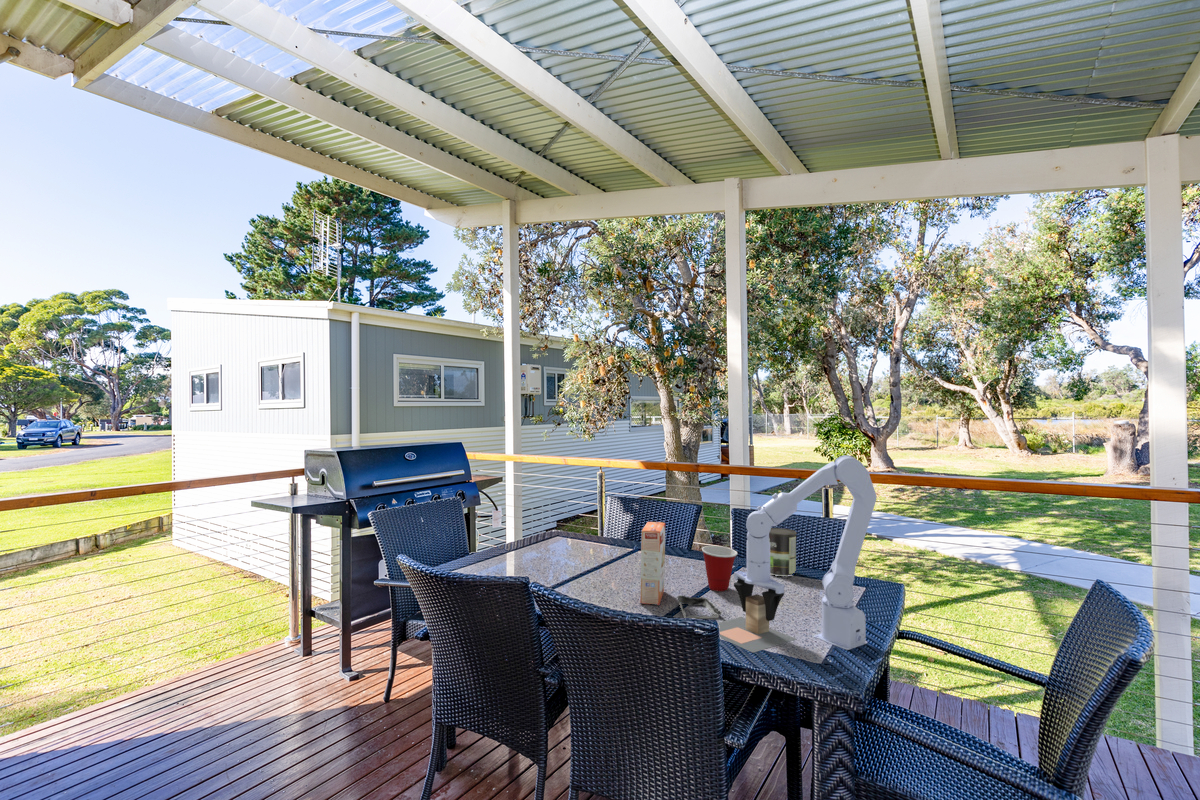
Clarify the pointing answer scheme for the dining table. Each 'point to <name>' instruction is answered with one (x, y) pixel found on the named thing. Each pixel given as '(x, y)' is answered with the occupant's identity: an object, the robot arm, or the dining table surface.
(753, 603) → the maple block
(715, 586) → the plastic cup
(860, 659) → the dining table surface
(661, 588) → the cracker box
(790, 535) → the coffee can
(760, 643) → the rubber mat
